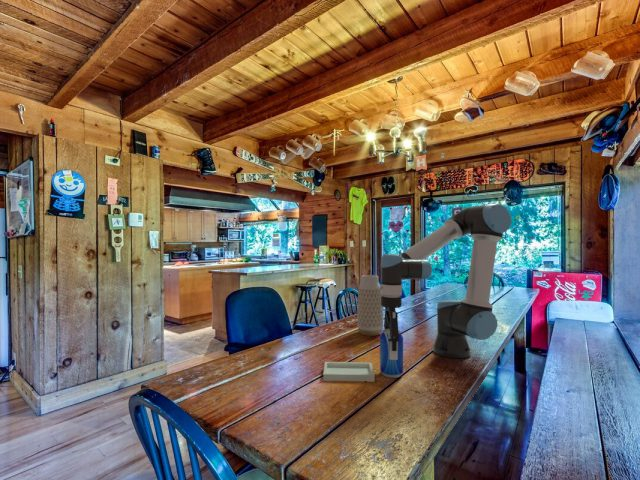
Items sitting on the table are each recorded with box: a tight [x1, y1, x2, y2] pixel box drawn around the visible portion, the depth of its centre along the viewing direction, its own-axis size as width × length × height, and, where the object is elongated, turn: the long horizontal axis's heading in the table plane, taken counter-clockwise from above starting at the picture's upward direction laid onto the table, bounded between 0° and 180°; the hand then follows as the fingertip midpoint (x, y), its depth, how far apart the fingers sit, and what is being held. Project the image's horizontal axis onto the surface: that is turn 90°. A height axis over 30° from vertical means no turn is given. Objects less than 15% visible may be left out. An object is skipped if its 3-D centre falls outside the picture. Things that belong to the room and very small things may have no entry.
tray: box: [322, 361, 376, 383], centre depth 124 cm, size 18×12×2 cm, turn 87°
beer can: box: [379, 328, 404, 379], centre depth 124 cm, size 8×8×16 cm
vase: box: [356, 274, 384, 337], centre depth 178 cm, size 14×14×31 cm
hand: (390, 353), depth 124 cm, fingers open, 13 cm apart
